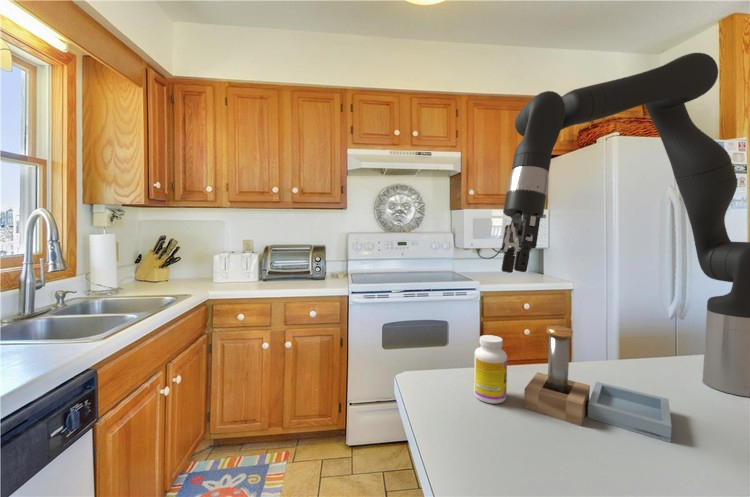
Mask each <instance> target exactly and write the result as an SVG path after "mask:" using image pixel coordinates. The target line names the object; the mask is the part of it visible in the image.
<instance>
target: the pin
mask: <svg viewBox="0 0 750 497" xmlns="http://www.w3.org/2000/svg"><path fill="white" fill-rule="evenodd" d="M573 333H574V331H573V329H572V328H570V327H566V326H562V325H548V326H546V334H548V335H549V336H548V362H547V363H548V364H547V367H548V368H547V375H548V390H552V391H556V392H559V393H563V394H568V380H569V361H570V338H571V337H573Z"/></svg>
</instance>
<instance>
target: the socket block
mask: <svg viewBox="0 0 750 497" xmlns="http://www.w3.org/2000/svg"><path fill="white" fill-rule="evenodd" d="M590 387H591V385H590V384H586V383H581V382H579V381H578V382H577V381H574V380H570V379H568V394H563V393H559V392H556V391H552V390H548V373H543V372H542V373H541V372H536V373H535V374H534V376H533V377H532V378H531V379H530V381H529V382H528V384H527V385H526V386H525V387H524V389H523V390H524V393H523V394H524V395H523V398H524V400H523V408H524V409H527V410H530V411H533V412H536V413H539V414H542V415H545V416H548V417H551V418H554V419H555V418H556V419H558V420H561V421H564V422H567V423H570V424H573V425H577V426H580V427H582V426H583V422H584V420H585V417H586V414H587V412H588V403H589V400H590V391H591V389H590Z"/></svg>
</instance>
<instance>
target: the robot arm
mask: <svg viewBox="0 0 750 497" xmlns="http://www.w3.org/2000/svg"><path fill="white" fill-rule="evenodd" d="M718 77H719V68H718V64H717V62H716V60H715V58H713V57H712V56H711V55H709V54H707V53H704V52H691V53H687V54H684V55H682V56H679V57H677V58H675V59H672V60H671V61H669V62H667V63H665V64H664V65H661V66H658V67H655V68H652V69H649V70H646V71H642V72H640V73H636V74H633V75H629V76H624V77H620V78H617V79H612V80H608V81H604V82H600V83H595V84H591V85H588V86H587V85H586V86H583V87H579V88H576V89H573V90H570V91H568V92H567V93H565V94H563V95H562V96H561V95H560V94H559V93H557V92H555V91H552V90H551V91H550V90H546V91H543V92H540V93H538V94H537V95H535V96H534V97H533V98H532V99H531V100H530V101H529V102H528V103H526V105H525V106H524V107H522V109H521V110H520V111H519V112H518V114H517V115H516V117H515V120H514V128H515V130H516V132H517V133H518V134H519V136H522V137H523V138H522V140H521V141H520V142H519V144H518V145H517V146H516V147H515V148H516V149H515V152H514V155H513V161H512V166H511V170H510V171H511V172H510V176H509V177H508V182H507V189H506V193H505V199H504V204H503V210H502V212H503V214H504V215H505V216H506V217H509V218H511V222H510V224H506V225H505V226H504V233H503V239H502V243H501V248H500V250H501V252H502V254H503V258H502V264H501V272H503V273H507V274H510V273H513V272H514V271H516V272H520V273H526V272H527V270H528V265H529V260H530V254H531V253H532V251H533V249H536V248H537V245H538V244H537V242H538V236H539V229H540V224H541V223H540V222H541V219H542V218H543V217H544V214H545V213H544V212H545V208H546V207H545V206H546V201H547V194H548V189H549V176H550V175H549V174H550V169H551V162H552V155H553V154H552V153H553V151H554V148H555V145H556V143H557V142H558V139H559V136H560V132H562V130H564V129H566V128H567V129H568V128H570V127H572V126H576V125H581V124H585V123H589V122H593V121H597V120H598V121H599V120H602V119H605V118H607V117H612V116H614V115H617V114H620V113H623V112H625V111H629V110H631V109H634V108H637V107H639V106H643V105H644V106H645V109H646V111H647V113H648V115H649V117H650V119H651V121H652V123H653V124H654V127H655V128H656V131H657V133H658V135H659V137H660V140H661V142H662V144H663V147H664V150H665V153H666V155H667V158H668V159H669V163H670V166H671V168H672V172H673V176H674V180H675V183H676V185H677V188H678V190H679V191H678V192H679V194H680V196H681V199H682V201H683V203H684V207H685V210H686V213H687V217H688V220H689V223H690V226H691V231H692V235H693V242H694V246H695V250H696V257H697V260H698V264H699V267H700V268H701V270H702V272H703V274H704V275H705V276H706V277H708V278H710V279H712V280H714V281H720V282H725V283H726V282H727V283H732V286H731V288H730V291H729V292H728V293H726V294H724V295H717V296H715V295H714V296H711V297H709V298H708V299H707V302H706V303H707V304H706V316H705V318H706V322H705V338H704V352H703V354H704V355H703V363H702V365H703V369H702V382H703V383H704V384H705V385H706V386H708V387H711V388H713V389H715V390H717V391H720V392H724V393H728V394H731V395H736V396H742V397H748V398H749V397H750V241H732V240H731V239H730V237H729V234H728V232H727V228H726V223H725V221H726V220H725V218H726V214H727V211H728V209H729V207H730V205H731V203H732V200H733V198H734V196H735V193H736V191H737V188H738V178H737V175H736V172H735V168H734V166H733V162H732V159H731V156H730V154H729V152H728V151H727V150H726V149H725V148H724V147H723V146H722V145H721V144H720V143H719V142H717V141H716V140H714V139H713V138H712V137H710V136H709V135H707V134H706V133H705V132H704V131H702V130H701V129H700V128H698V126H696V124H695V123H694V122H693V120H692V119H691V117H690V114H689V112H688V109H687V107H686V104H685V103H689V102H691V101H694V100H696V99H698V98H700V97H701V96H704V95H705V94H706V93H707V92H709V91H710V90H711V89H712V88H713V86H715V84H716V82H717V80H718Z"/></svg>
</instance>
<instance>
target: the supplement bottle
mask: <svg viewBox="0 0 750 497" xmlns="http://www.w3.org/2000/svg"><path fill="white" fill-rule="evenodd" d="M503 341H504V340H503V338H502V337H500V336H496V335H491V334H484V335H481V336H479V347H477V348H476V349H475V351H474V364H473V365H474V367H473V368H474V371H473V394H474V395H473V396H475V397H476V399H478V400H480V401H482V402H484V403H487V404H492V405H493V404H494V405H495V404H501V403H503V402H505V401H506V399H507V389H508V388H507V385H508V384H507V382H508V380H507V379H508V356H507V352H505V351H504V350H503V349H502V347H503V345H504V344H503V343H504V342H503Z"/></svg>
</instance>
